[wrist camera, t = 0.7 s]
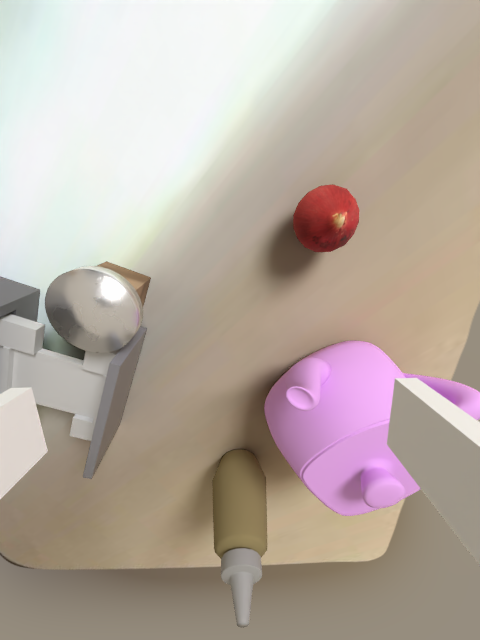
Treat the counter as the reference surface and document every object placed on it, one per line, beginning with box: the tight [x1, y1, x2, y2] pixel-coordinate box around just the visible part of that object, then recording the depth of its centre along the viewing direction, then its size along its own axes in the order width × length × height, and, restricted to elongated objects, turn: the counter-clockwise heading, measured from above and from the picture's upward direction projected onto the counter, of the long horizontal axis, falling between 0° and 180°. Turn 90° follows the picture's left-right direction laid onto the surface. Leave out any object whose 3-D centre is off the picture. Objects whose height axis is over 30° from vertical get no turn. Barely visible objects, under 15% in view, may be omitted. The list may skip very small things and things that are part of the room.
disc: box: [45, 266, 143, 353], centre depth 24 cm, size 8×8×2 cm
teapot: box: [264, 341, 480, 516], centre depth 29 cm, size 23×21×15 cm
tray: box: [0, 313, 147, 479], centre depth 30 cm, size 17×14×8 cm
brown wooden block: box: [98, 262, 151, 306], centre depth 28 cm, size 5×5×6 cm
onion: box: [293, 185, 359, 252], centre depth 24 cm, size 6×6×8 cm
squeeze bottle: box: [212, 449, 267, 627], centre depth 34 cm, size 8×8×18 cm
